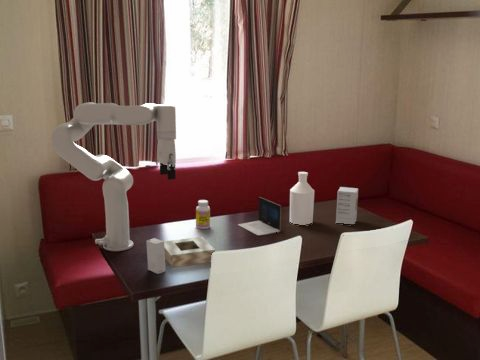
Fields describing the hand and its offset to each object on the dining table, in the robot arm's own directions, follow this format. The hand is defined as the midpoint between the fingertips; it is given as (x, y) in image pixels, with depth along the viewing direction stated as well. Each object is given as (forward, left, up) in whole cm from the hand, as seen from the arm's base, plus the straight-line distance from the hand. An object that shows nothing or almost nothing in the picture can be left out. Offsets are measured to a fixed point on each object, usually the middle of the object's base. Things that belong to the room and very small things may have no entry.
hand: (167, 176), depth 219 cm
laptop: (+47, +11, -32) cm, 58 cm away
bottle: (+70, +13, -32) cm, 78 cm away
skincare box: (-11, -21, -32) cm, 39 cm away
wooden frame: (+4, -12, -31) cm, 34 cm away
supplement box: (+91, +5, -32) cm, 97 cm away
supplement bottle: (+22, +22, -32) cm, 45 cm away
